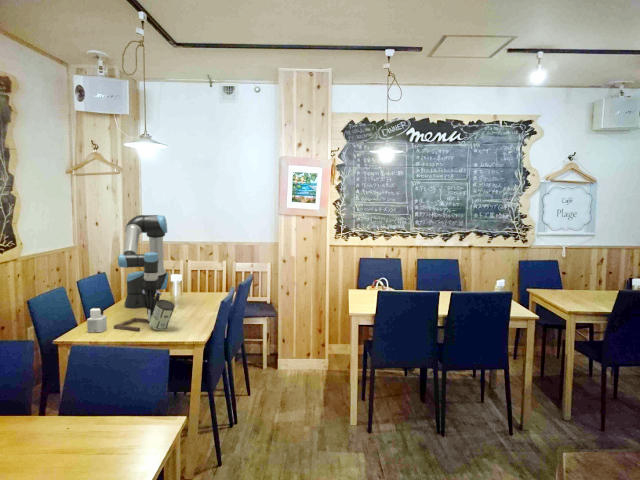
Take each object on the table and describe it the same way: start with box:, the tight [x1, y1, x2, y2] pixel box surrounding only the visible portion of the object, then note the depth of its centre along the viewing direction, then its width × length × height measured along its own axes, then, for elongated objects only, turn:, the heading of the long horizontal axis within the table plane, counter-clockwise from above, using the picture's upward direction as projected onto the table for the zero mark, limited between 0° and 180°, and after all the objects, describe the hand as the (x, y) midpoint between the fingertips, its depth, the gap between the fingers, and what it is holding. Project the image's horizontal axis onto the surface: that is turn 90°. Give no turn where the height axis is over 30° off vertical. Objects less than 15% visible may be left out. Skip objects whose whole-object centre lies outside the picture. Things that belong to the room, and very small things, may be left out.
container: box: [86, 306, 108, 333], centre depth 253 cm, size 8×8×13 cm
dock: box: [113, 317, 150, 333], centre depth 265 cm, size 18×16×2 cm
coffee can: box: [148, 299, 176, 331], centre depth 258 cm, size 10×10×14 cm
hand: (150, 320), depth 260 cm, fingers closed
